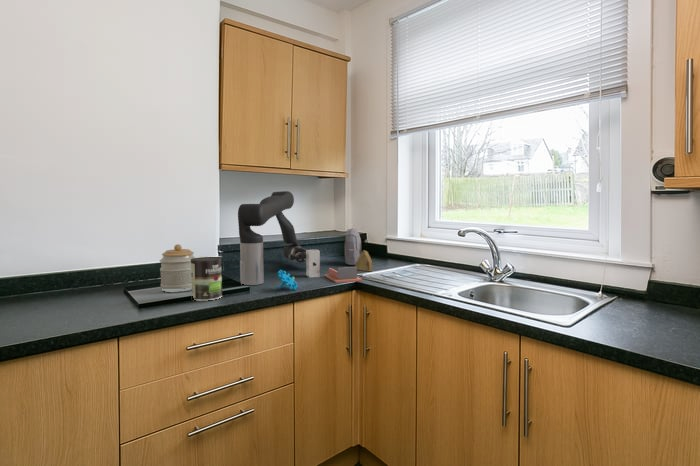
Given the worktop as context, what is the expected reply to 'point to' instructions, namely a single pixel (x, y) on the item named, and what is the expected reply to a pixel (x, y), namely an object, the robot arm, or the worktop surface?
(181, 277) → the jar
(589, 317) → the worktop surface
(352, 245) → the small grey backpack
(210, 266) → the coffee can
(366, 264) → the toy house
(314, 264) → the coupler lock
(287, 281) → the gear
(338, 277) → the coupler cradle
